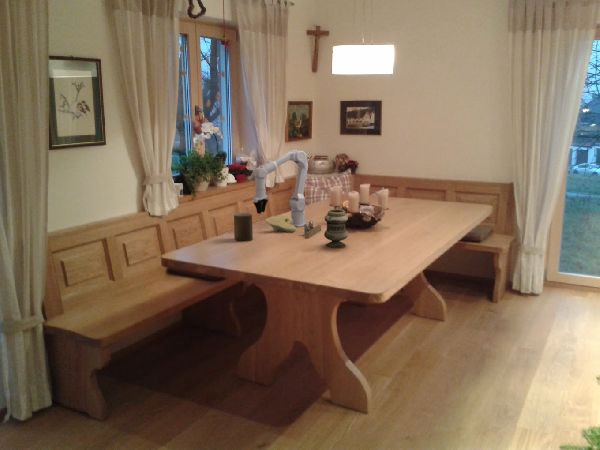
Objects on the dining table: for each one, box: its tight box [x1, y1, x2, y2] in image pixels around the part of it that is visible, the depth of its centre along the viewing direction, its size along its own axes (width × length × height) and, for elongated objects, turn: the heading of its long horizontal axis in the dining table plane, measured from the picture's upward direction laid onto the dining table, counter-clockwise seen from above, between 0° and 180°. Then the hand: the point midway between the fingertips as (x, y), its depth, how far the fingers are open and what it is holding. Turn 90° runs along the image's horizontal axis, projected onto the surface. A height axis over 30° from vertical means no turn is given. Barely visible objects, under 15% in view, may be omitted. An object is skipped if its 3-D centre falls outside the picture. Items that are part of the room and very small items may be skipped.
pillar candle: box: [233, 212, 254, 243], centre depth 302 cm, size 10×10×15 cm
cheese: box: [264, 214, 297, 233], centre depth 322 cm, size 15×7×15 cm
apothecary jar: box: [323, 208, 349, 249], centre depth 288 cm, size 12×12×18 cm
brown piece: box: [303, 220, 322, 239], centre depth 314 cm, size 20×5×6 cm, turn 158°
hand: (260, 212), depth 324 cm, fingers open, 4 cm apart
